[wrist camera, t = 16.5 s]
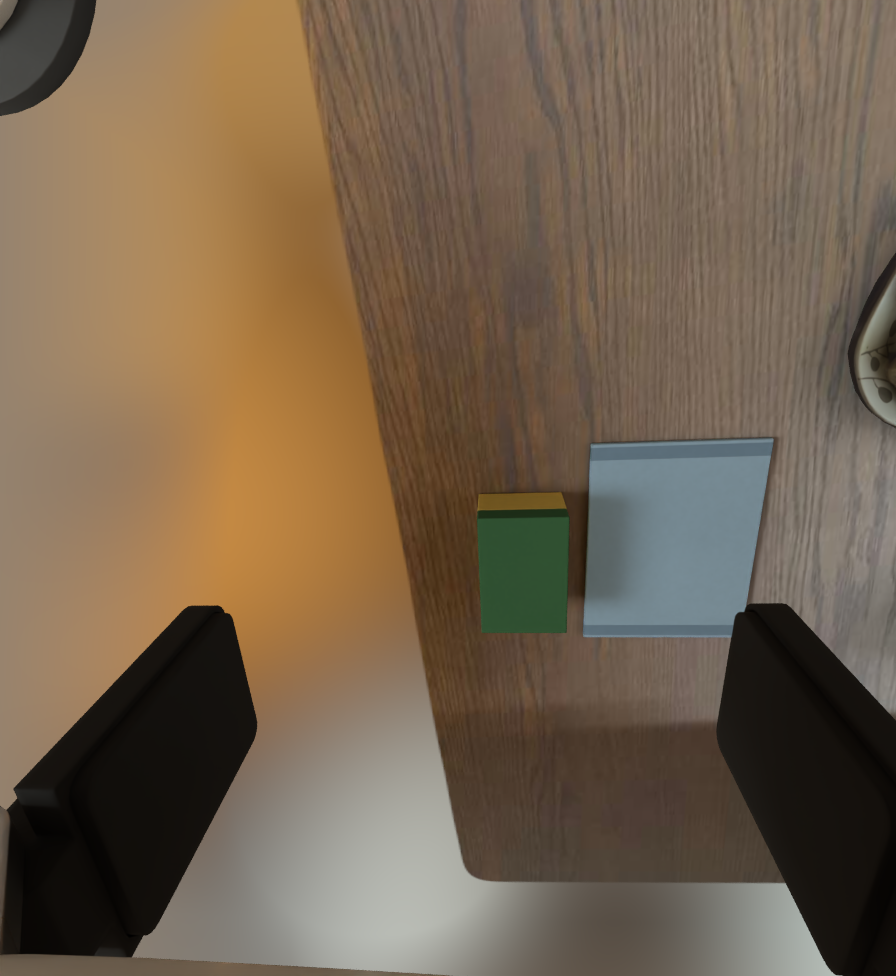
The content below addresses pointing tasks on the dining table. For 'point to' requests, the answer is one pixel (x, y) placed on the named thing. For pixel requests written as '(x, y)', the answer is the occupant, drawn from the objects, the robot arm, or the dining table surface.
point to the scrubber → (523, 562)
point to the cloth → (672, 535)
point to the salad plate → (877, 349)
